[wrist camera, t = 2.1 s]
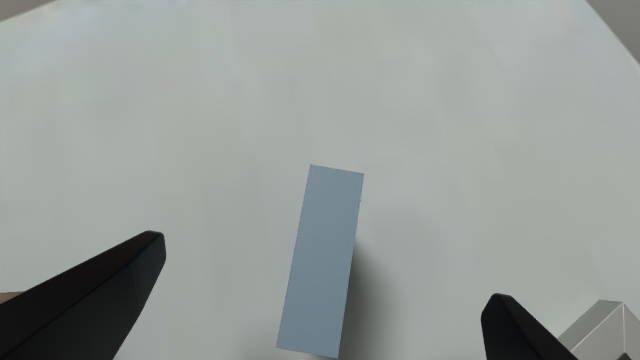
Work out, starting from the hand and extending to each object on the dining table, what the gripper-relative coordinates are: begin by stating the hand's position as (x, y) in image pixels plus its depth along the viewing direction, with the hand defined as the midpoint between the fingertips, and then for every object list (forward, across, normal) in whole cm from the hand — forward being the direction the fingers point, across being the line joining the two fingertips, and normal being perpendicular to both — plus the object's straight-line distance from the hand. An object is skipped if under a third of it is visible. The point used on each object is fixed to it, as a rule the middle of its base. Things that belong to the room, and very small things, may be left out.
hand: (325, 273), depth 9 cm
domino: (+7, 0, +6) cm, 9 cm away
